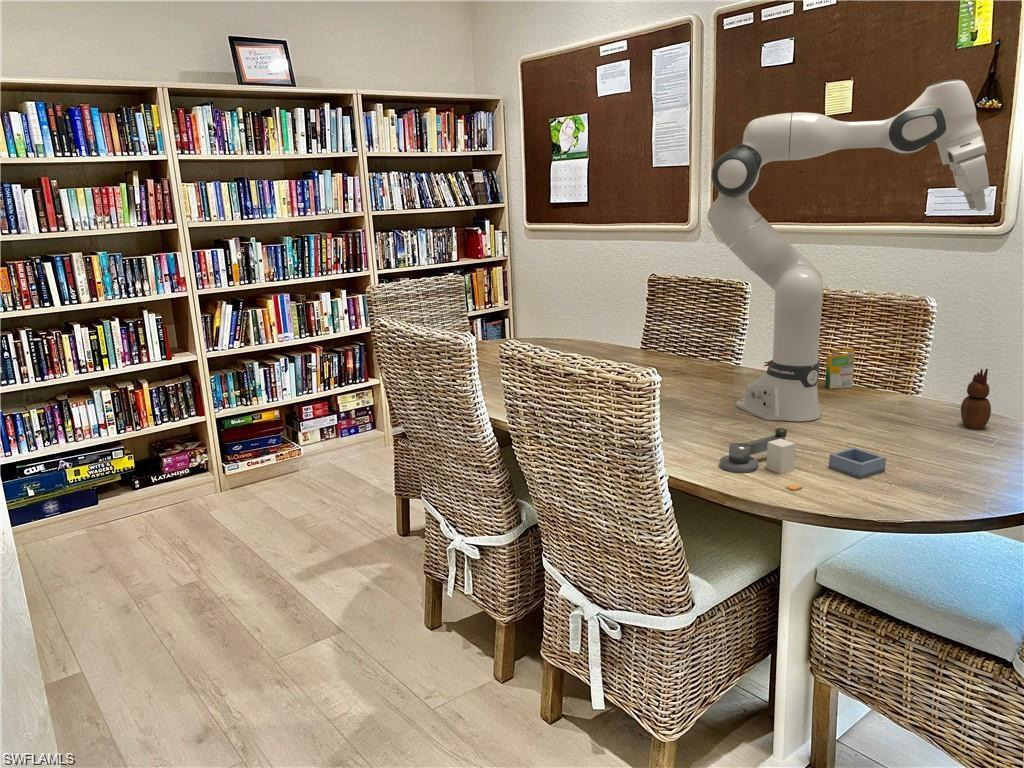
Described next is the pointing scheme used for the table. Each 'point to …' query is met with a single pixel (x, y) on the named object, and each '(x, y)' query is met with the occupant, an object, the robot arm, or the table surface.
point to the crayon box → (840, 369)
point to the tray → (857, 462)
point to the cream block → (780, 456)
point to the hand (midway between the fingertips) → (978, 209)
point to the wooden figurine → (976, 402)
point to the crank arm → (752, 447)
